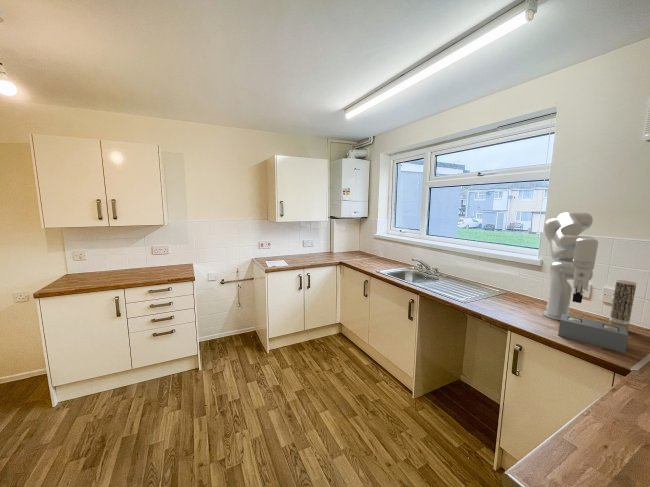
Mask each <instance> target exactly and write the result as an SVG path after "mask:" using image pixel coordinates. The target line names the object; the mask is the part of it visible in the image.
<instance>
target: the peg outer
mask: <svg viewBox="0 0 650 487" xmlns="http://www.w3.org/2000/svg"><path fill="white" fill-rule="evenodd" d="M604 328H607V329H612V330H616V331H618V329H617V328H615V327H612V326H604Z"/></svg>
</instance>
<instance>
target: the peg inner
mask: <svg viewBox="0 0 650 487" xmlns="http://www.w3.org/2000/svg"><path fill="white" fill-rule="evenodd" d="M569 320H572V321H577V322H581V320H579V319H576V318H569Z"/></svg>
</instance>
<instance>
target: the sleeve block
mask: <svg viewBox="0 0 650 487" xmlns="http://www.w3.org/2000/svg"><path fill="white" fill-rule="evenodd" d="M569 318H576V319H579V320H581V322H577V321H572V320H569ZM558 325H559V326H558V334H557V336H559V337H562V338H567V339H571V340H574V341H579V342H582V343H586V344H588V345H593V346H598V347H602V348H605V349H608V350H612V351H616V352H619V353H620V352H621V353H623V354H626V351H627V346H628V339H629V333H628V331H627V329H626V327H622V326H617V325H613V324H609V322H608V323H607V322H603V321H598V320H593V319H588V318H585V317H580V316H576V315H570V314H568V315H567V314H562V315H561V319H560V320H559V324H558ZM604 326H612V327H615V328H617V329H618V331H616V330H612V329H607V328H604Z"/></svg>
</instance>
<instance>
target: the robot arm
mask: <svg viewBox="0 0 650 487" xmlns="http://www.w3.org/2000/svg"><path fill="white" fill-rule="evenodd" d="M593 222H594V220H593V216H592V214H590V213H588V212H575V211H573V212H571V211H570V212H567V211H566V212H562V213H559V215H557V218H550V219H547V220H546V221H545V222H544V224H543V225H544V227H543V228H544V234H545V237H546V238H547V240H548V243H549V248H550V249H549V250H550V254H551V256H550V257H551V259H552V261H554V262H552V263H551V264H550V266H549V276H550V277H549V278H550V280H549V289H548V296H547V302H546V303H547V304H546V305H545V308H546V310H542V315H543V316H545V317H547V318H550V319H554V320H556V321H560V319H561V315H562V314H567V315H569V314H570V307H571V306H570V305H571V299H572V302H573V303H577V304H581V303H583V302H582V301H583V297H584V295H583V291H588V288H589V282H590V281H591V280H592V278H593V275H594V273H593V272H594V271H593V270H594V269H595V264H596V258H597V253H598V252H597V251H598V248H599V241H598V240H597V239H595V237H592V236H588V235H580V234H582V233H583V232H585V231H587V230H588V229H589V228H591V226H592V225H593ZM569 280H570V281H572V282H573V286H572V285H571V284H570V283H569ZM573 289H574V292H572V291H573ZM572 293H573V296H572Z"/></svg>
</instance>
